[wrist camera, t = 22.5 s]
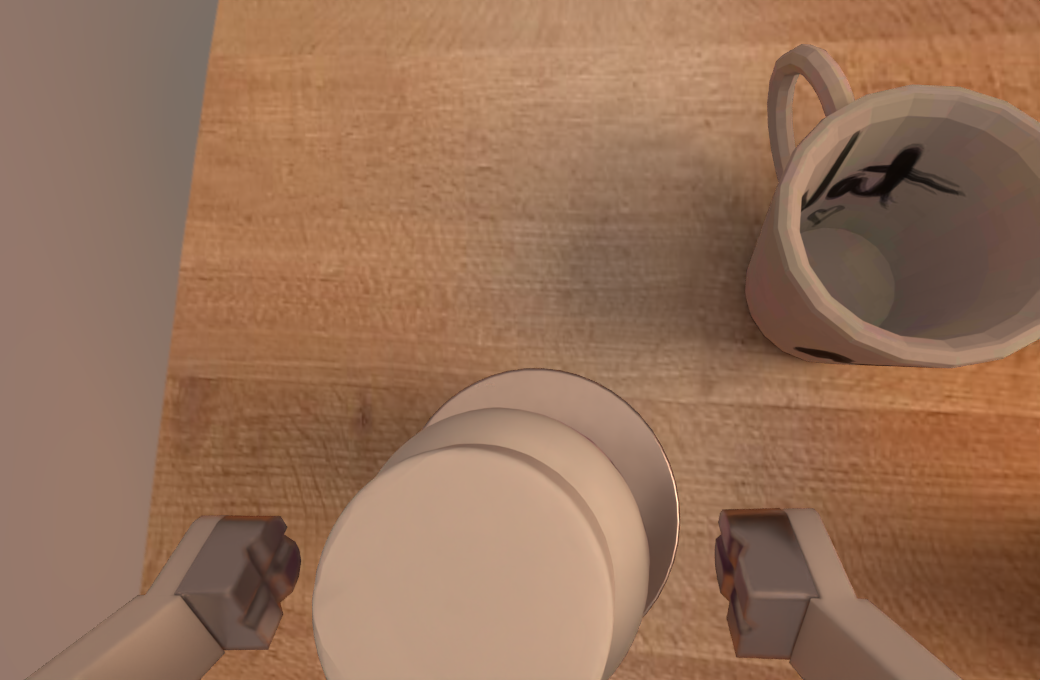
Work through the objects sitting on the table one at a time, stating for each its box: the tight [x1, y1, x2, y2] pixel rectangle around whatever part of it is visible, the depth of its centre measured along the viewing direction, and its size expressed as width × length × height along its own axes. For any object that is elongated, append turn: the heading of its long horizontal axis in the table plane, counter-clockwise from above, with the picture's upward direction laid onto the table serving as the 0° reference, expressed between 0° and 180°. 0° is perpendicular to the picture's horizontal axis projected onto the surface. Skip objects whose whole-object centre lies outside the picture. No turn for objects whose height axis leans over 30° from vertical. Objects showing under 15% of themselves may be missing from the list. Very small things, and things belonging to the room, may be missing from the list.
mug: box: [745, 44, 1040, 368], centre depth 25 cm, size 10×15×10 cm
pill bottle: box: [312, 407, 650, 680], centre depth 12 cm, size 5×5×10 cm
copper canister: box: [421, 368, 680, 618], centre depth 23 cm, size 9×9×13 cm
